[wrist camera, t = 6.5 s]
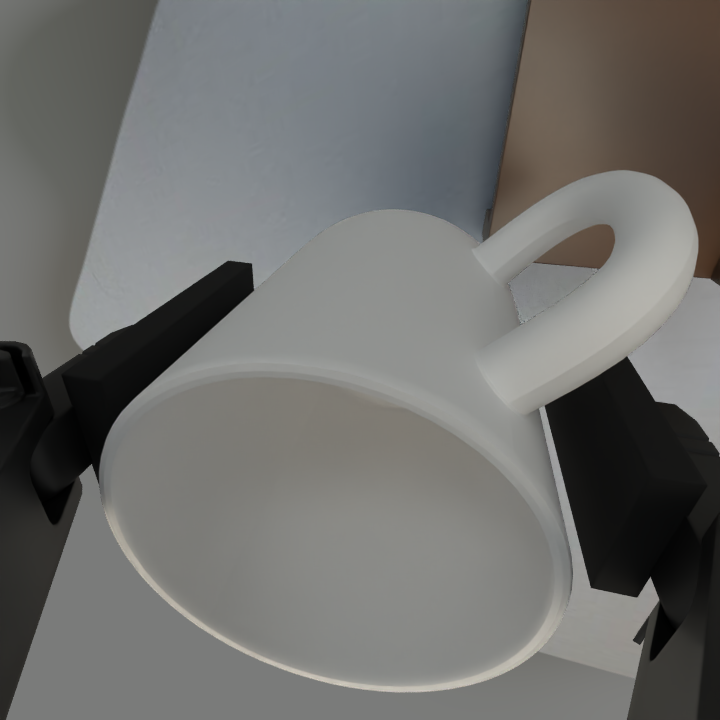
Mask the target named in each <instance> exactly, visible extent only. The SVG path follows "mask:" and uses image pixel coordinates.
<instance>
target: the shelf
mask: <svg viewBox="0 0 720 720" xmlns="http://www.w3.org/2000/svg"><path fill="white" fill-rule="evenodd" d="M617 170H628V171H635V172H640V173H645V174H648V175H651V176H654V177H656V178H658V179H660V180H662V181H663V182H664V183H666V184H667V185H668V186H670V187H671V188H672V189H674V190H675V191H676V192H677V193H678V194H679V195H680V196H681V197H682V198H683V199H684V201H685V202H686V204H687V206H688V207H689V210H690V212H691V215H692V217H693V220H694V223H695V226H696V229H697V234H698V255H697V261H696V266H695V271H694V275H693V277H698V278H709V279H711V280H713V281H714V282H715V283H717V284H718V285H719V286H720V0H528V3H527V9H526V14H525V20H524V26H523V32H522V37H521V43H520V49H519V54H518V60H517V66H516V72H515V77H514V83H513V89H512V95H511V100H510V106H509V112H508V117H507V123H506V129H505V135H504V140H503V146H502V152H501V157H500V163H499V169H498V175H497V180H496V186H495V192H494V198H493V203H492V209H487V210H486V214H485V220H484V225H483V231H482V237H483V242H484V241H485V240H487V239H488V238H489V237H491V236H492V235H493V234H495V233H496V232H497V231H498V230H500V229H501V228H502V227H504V226H505V225H506V224H508V223H509V222H510V221H512V220H513V219H514V218H516V217H517V216H519V215H520V214H521V213H523V212H524V211H526V210H527V209H528V208H530V207H531V206H533V205H534V204H536V203H537V202H539V201H540V200H542V199H544V198H545V197H547V196H548V195H550V194H552V193H554V192H555V191H557V190H559V189H561V188H563V187H565V186H567V185H569V184H571V183H573V182H575V181H577V180H580V179H582V178H585V177H588V176H592V175H596V174H600V173H604V172H609V171H617ZM614 244H615V234H614V230H613V229H612V227H611V226H610V225H607V224H598V225H594V226H591V227H588V228H586V229H583V230H581V231H579V232H577V233H575V234H573V235H571V236H570V237H568V238H566V239H565V240H563V241H562V242H560V243H559V244H557V245H555V246H554V247H553V248H551V249H550V250H548V251H547V252H546V253H544V254H543V255H542V256H540V257H539V258H538V259H536V260H535V261H534V262H533V263H543V264H554V265H565V266H576V267H587V268H598V269H600V268H601V267H602V266H603V265H604V264H605V263H606V261H607V260H608V259H609V258H610V256H611V253H612V251H613V248H614Z"/></svg>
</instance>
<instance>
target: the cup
mask: <svg viewBox="0 0 720 720" xmlns="http://www.w3.org/2000/svg"><path fill="white" fill-rule="evenodd" d="M598 224H607V225H610V226H611V227H612V229H613V230H614V234H615V244H614V248H613V251H612V253H611V256H610V258H609V259H608V260H607V261H606V263H605V264H604V265H603V266H602V267H601V268H600V269H599V270H598V271H597V272H596V273H595V274H594V275H593V276H592V277H591V278H590V279H588V280H587V281H586V282H585V283H584V284H582V285H581V286H580V287H578V288H577V289H576V290H574V291H573V292H572V293H570V294H569V295H567V296H566V297H564V298H563V299H561V300H560V301H558V302H557V303H555V304H554V305H552V306H551V307H549V308H548V309H546V310H545V311H543V312H541V313H540V314H538V315H537V316H535V317H533V318H532V319H530V320H529V321H527V322H525V323H524V324H522V325H520V322H519V317H518V313H517V309H516V305H515V301H514V298H513V295H512V293H511V290H510V287H509V285H508V283H509V282H510V281H511V280H512V279H513V278H515V277H516V276H517V275H518V274H519V273H521V272H522V271H523V270H524V269H525V268H527V267H528V266H529V265H530V264H531V263H533V262H534V261H535V260H536V259H538V258H539V257H540V256H542V255H543V254H544V253H546V252H547V251H548V250H550V249H551V248H553V247H554V246H555V245H557V244H559V243H560V242H562V241H563V240H565V239H566V238H568V237H570V236H571V235H573V234H575V233H577V232H579V231H581V230H583V229H586V228H588V227H591V226H594V225H598ZM697 255H698V234H697V229H696V226H695V223H694V220H693V217H692V215H691V212H690V210H689V207H688V206H687V204H686V202H685V201H684V199H683V198H682V197H681V196H680V195H679V194H678V193H677V192H676V191H675V190H674V189H672V188H671V187H670V186H668V185H667V184H666V183H664V182H663V181H662V180H660V179H658V178H656V177H654V176H651V175H648V174H645V173H640V172H635V171H628V170H617V171H609V172H604V173H600V174H596V175H592V176H588V177H585V178H582V179H580V180H577V181H575V182H573V183H571V184H569V185H567V186H565V187H563V188H561V189H559V190H557V191H555V192H554V193H552V194H550V195H548V196H547V197H545V198H544V199H542V200H540V201H539V202H537V203H536V204H534V205H533V206H531V207H530V208H528V209H527V210H526V211H524V212H523V213H521V214H520V215H519V216H517V217H516V218H514V219H513V220H512V221H510V222H509V223H508V224H506V225H505V226H504V227H502V228H501V229H500V230H498V231H497V232H496V233H495V234H493V235H492V236H491V237H489V238H488V239H487V240H485V241H484V242H483V243H482V244H480V243H479V242H478V241H476V240H475V239H474V238H473V237H471V236H470V235H469V234H468V233H466V232H465V231H463V230H462V229H460V228H459V227H457V226H455V225H453V224H451V223H449V222H447V221H446V220H443V219H441V218H438V217H435V216H433V215H429V214H425V213H422V212H417V211H411V210H400V209H387V210H377V211H370V212H366V213H362V214H358V215H355V216H352V217H349V218H346V219H344V220H342V221H340V222H338V223H336V224H334V225H332V226H330V227H329V228H327V229H325V230H324V231H322V232H321V233H319V234H318V235H317V236H316V237H314V238H313V239H312V240H310V241H309V242H308V243H307V244H306V245H304V246H303V247H302V248H301V249H300V250H299V251H298V252H297V253H296V254H294V255H293V256H292V257H291V258H290V259H289V260H288V261H287V262H286V263H284V264H283V265H282V266H281V267H280V268H279V269H278V270H277V271H276V272H274V273H273V274H272V275H271V276H270V277H269V278H268V279H267V280H266V281H264V282H263V283H262V284H261V285H260V286H259V287H258V288H257V289H256V290H254V291H253V292H252V293H251V294H250V295H249V296H248V297H247V298H246V299H244V300H243V301H242V302H241V303H240V304H239V305H238V306H237V307H236V308H234V309H233V310H232V311H231V312H230V313H229V314H228V315H227V316H226V317H224V318H223V319H222V320H221V321H220V322H219V323H218V324H217V325H216V326H214V327H213V328H212V329H211V330H210V331H209V332H208V333H207V334H206V335H204V336H203V337H202V338H201V339H200V340H199V341H198V342H197V343H196V344H194V345H193V346H192V347H191V348H190V349H189V350H188V351H187V352H185V353H184V354H183V355H182V356H181V357H180V358H179V359H178V360H177V361H175V362H174V363H173V364H172V365H171V366H170V367H169V368H168V369H167V370H165V371H164V372H163V373H162V374H161V375H160V376H159V377H158V378H157V379H155V380H154V381H153V382H152V383H151V384H150V385H149V386H148V387H147V388H145V389H144V390H143V391H142V392H141V393H140V394H139V395H138V396H137V397H135V398H134V399H133V400H132V401H131V403H130V404H129V405H128V406H127V407H126V408H125V409H124V410H123V411H122V412H121V414H120V415H119V416H118V418H117V419H116V421H115V422H114V424H113V425H112V427H111V430H110V432H109V434H108V436H107V438H106V441H105V444H104V448H103V451H102V455H101V460H100V468H99V488H100V494H101V501H102V505H103V508H104V512H105V515H106V518H107V520H108V523H109V526H110V528H111V530H112V532H113V534H114V536H115V538H116V540H117V542H118V544H119V546H120V547H121V549H122V550H123V552H124V553H125V555H126V557H127V558H128V559H129V561H130V562H131V563H132V565H133V566H134V567H135V569H136V570H137V571H138V572H139V574H140V575H141V576H142V577H143V578H144V579H145V580H146V582H147V583H148V584H149V585H150V586H151V587H152V588H153V589H154V590H155V591H156V592H157V593H158V594H159V595H160V596H161V597H162V598H163V599H164V600H166V601H167V602H168V603H169V604H170V605H171V606H172V607H173V608H175V609H176V610H177V611H178V612H180V613H181V614H182V615H183V616H185V617H186V618H187V619H189V620H190V621H192V622H193V623H194V624H196V625H197V626H199V627H200V628H202V629H203V630H205V631H206V632H208V633H210V634H211V635H212V636H214V637H216V638H217V639H219V640H221V641H223V642H224V643H226V644H228V645H230V646H232V647H234V648H236V649H237V650H239V651H241V652H244V653H245V654H248V655H250V656H252V657H254V658H256V659H258V660H260V661H263V662H265V663H268V664H270V665H273V666H275V667H278V668H280V669H283V670H286V671H289V672H292V673H295V674H298V675H301V676H304V677H308V678H311V679H315V680H319V681H322V682H326V683H331V684H335V685H341V686H345V687H351V688H358V689H365V690H374V691H384V692H428V691H439V690H447V689H454V688H458V687H463V686H468V685H472V684H475V683H479V682H482V681H485V680H488V679H491V678H493V677H496V676H498V675H501V674H503V673H505V672H507V671H509V670H511V669H513V668H515V667H516V666H518V665H519V664H521V663H523V662H524V661H526V660H527V659H529V658H530V657H531V656H532V655H533V654H535V653H536V652H537V651H538V650H539V649H541V648H542V646H543V645H544V644H545V643H546V642H547V641H548V640H549V639H550V638H551V636H552V635H553V633H554V632H555V630H556V629H557V627H558V626H559V624H560V622H561V620H562V617H563V615H564V613H565V611H566V608H567V606H568V602H569V598H570V594H571V590H572V578H573V568H572V556H571V551H570V546H569V542H568V537H567V533H566V528H565V524H564V520H563V515H562V511H561V506H560V502H559V497H558V493H557V488H556V484H555V479H554V475H553V470H552V466H551V461H550V457H549V452H548V448H547V443H546V439H545V434H544V430H543V425H542V421H541V416H540V412H539V408H540V407H542V406H544V405H546V404H548V403H550V402H552V401H554V400H556V399H558V398H559V397H561V396H563V395H565V394H567V393H569V392H571V391H572V390H574V389H576V388H578V387H579V386H581V385H583V384H584V383H586V382H588V381H590V380H591V379H593V378H595V377H596V376H598V375H600V374H601V373H603V372H604V371H606V370H607V369H609V368H610V367H612V366H613V365H615V364H617V363H618V362H620V361H621V360H623V359H624V358H625V357H626V356H628V355H629V354H630V353H632V352H633V351H634V350H636V349H637V348H638V347H640V346H641V345H642V344H643V343H644V342H645V341H647V340H648V339H649V338H650V337H651V336H652V335H653V334H654V333H655V332H656V331H657V330H659V329H660V328H661V327H662V325H663V324H664V323H665V322H666V321H667V320H668V318H669V317H670V316H671V315H672V314H673V313H674V311H675V310H676V309H677V307H678V306H679V304H680V303H681V301H682V299H683V298H684V296H685V295H686V293H687V291H688V288H689V286H690V284H691V281H692V279H693V275H694V271H695V266H696V261H697Z"/></svg>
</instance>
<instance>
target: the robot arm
mask: <svg viewBox="0 0 720 720" xmlns="http://www.w3.org/2000/svg"><path fill="white" fill-rule="evenodd" d="M253 291H254V285H253V272H252V264H251V263H243V262H235V261H227V262H226V263H224V264H223V265H221V266H220V267H218V268H217V269H215V270H214V271H212V272H211V273H209V274H208V275H206V276H205V277H203V278H202V279H200V280H199V281H198V282H196V283H195V284H193V285H192V286H190V287H189V288H187V289H186V290H184V291H183V292H181V293H180V294H178V295H177V296H175V297H174V298H172V299H171V300H170V301H168V302H167V303H165V304H164V305H162V306H161V307H159V308H158V309H156V310H155V311H153V312H152V313H150V314H149V315H147V316H146V317H144V318H143V319H142V320H140V321H139V322H137V323H136V324H134V325H131V326H128V327H125V328H123V329H120V330H117V331H115V332H112V333H110V334H109V335H107V336H106V337H104V338H103V339H101V340H100V341H98V342H97V343H96V344H95V346H94V345H92V346H90V347H89V348H87V349H86V350H84V351H83V353H82V354H78V355H77V356H75V357H74V358H72V359H71V360H69V361H68V362H66V363H65V364H63V365H62V366H60V367H59V368H57V369H56V370H54V371H52V372H51V373H49V374H48V375H46V376H45V377H43V378H42V377H41V374H40V371H39V369H38V366H37V363H36V361H35V358H34V355H33V352H32V350H31V348H30V347H29V346H28V345H27V344H24V343H19V342H16V341H0V720H6V717H7V714H8V711H9V708H10V706H11V703H12V700H13V697H14V694H15V691H16V688H17V685H18V682H19V679H20V676H21V673H22V670H23V667H24V664H25V661H26V658H27V655H28V652H29V649H30V646H31V643H32V640H33V637H34V634H35V632H36V629H37V625H38V622H39V620H40V617H41V614H42V611H43V607H44V605H45V602H46V599H47V596H48V593H49V590H50V587H51V584H52V581H53V578H54V575H55V572H56V569H57V566H58V563H59V561H60V558H61V555H62V552H63V549H64V545H65V543H66V540H67V537H68V534H69V531H70V528H71V525H72V522H73V519H74V516H75V513H76V510H77V507H78V504H79V501H80V498H81V495H82V484H81V481H80V478H79V475H80V474H81V473H83V472H84V471H85V470H86V468H88V467H89V466H90V465H91V464H92V466H93V469H94V471H95V474H96V477H97V480H98V483H99V468H100V460H101V455H102V451H103V448H104V444H105V441H106V438H107V436H108V434H109V432H110V430H111V427H112V425H113V424H114V422H115V421H116V419H117V418H118V416H119V415H120V414H121V412H122V411H123V410H124V409H125V408H126V407H127V406H128V405H129V404H130V403H131V401H132V400H133V399H134V398H135V397H137V396H138V395H139V394H140V393H141V392H142V391H143V390H144V389H145V388H147V387H148V386H149V385H150V384H151V383H152V382H153V381H154V380H155V379H157V378H158V377H159V376H160V375H161V374H162V373H163V372H164V371H165V370H167V369H168V368H169V367H170V366H171V365H172V364H173V363H174V362H175V361H177V360H178V359H179V358H180V357H181V356H182V355H183V354H184V353H185V352H187V351H188V350H189V349H190V348H191V347H192V346H193V345H194V344H196V343H197V342H198V341H199V340H200V339H201V338H202V337H203V336H204V335H206V334H207V333H208V332H209V331H210V330H211V329H212V328H213V327H214V326H216V325H217V324H218V323H219V322H220V321H221V320H222V319H223V318H224V317H226V316H227V315H228V314H229V313H230V312H231V311H232V310H233V309H234V308H236V307H237V306H238V305H239V304H240V303H241V302H242V301H243V300H244V299H246V298H247V297H248V296H249V295H250V294H251V293H252V292H253ZM545 409H546V413H547V417H548V421H549V425H550V429H551V433H552V436H553V440H554V444H555V448H556V452H557V456H558V460H559V464H560V468H561V472H562V476H563V480H564V484H565V488H566V491H567V495H568V499H569V503H570V507H571V511H572V515H573V519H574V523H575V527H576V531H577V535H578V539H579V542H580V546H581V550H582V554H583V558H584V562H585V566H586V570H587V574H588V578H589V582H590V586H591V588H594V589H599V590H603V591H608V592H613V593H618V594H622V595H627V596H632V597H638V595H639V594H640V592H641V591H642V589H643V587H644V586H645V584H646V583H647V581H648V580H649V578H650V576H651V579H652V581H653V584H654V587H655V589H656V592H657V594H658V597H659V602H658V603H657V605H656V606H655V608H654V609H653V611H652V612H651V613H650V615H649V616H648V618H647V619H646V621H645V622H644V624H643V625H642V627H641V628H640V630H639V631H638V633H637V634H636V636H635V638H634V639H633V641H634V642H636V643H638V644H639V645H640V644H641V643H642V641H643V640H644V644H643V648H642V653H641V657H640V662H639V667H638V671H637V676H636V680H635V685H634V690H633V694H632V699H631V704H630V708H629V713H628V717H627V720H720V457H719V454H720V453H719V452H718V450H717V449H716V448H715V446H714V445H713V443H712V442H709V438H708V436H707V435H706V434H705V432H704V431H703V429H702V428H701V427H700V425H699V424H698V422H697V421H696V420H695V419H693V418H692V417H691V416H689V415H688V414H687V413H686V412H684V411H683V410H682V409H680V408H679V407H678V406H677V405H675V404H668V403H662V402H655V400H654V399H653V397H652V395H651V394H650V392H649V391H648V389H647V387H646V386H645V384H644V383H643V381H642V379H641V378H640V376H639V375H638V373H637V371H636V370H635V368H634V367H633V365H632V363H631V362H630V360H629V359H628V357H627V356H626V357H625V358H624V359H623V360H621V361H620V362H618V363H617V364H615V365H613V366H612V367H610V368H609V369H607V370H606V371H604V372H603V373H601V374H600V375H598V376H596V377H595V378H593V379H591V380H590V381H588V382H586V383H584V384H583V385H581V386H579V387H578V388H576V389H574V390H572V391H571V392H569V393H567V394H565V395H563V396H561V397H559V398H558V399H556V400H554V401H552V402H550V403H548V404H546V405H545ZM644 638H645V639H644Z"/></svg>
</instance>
